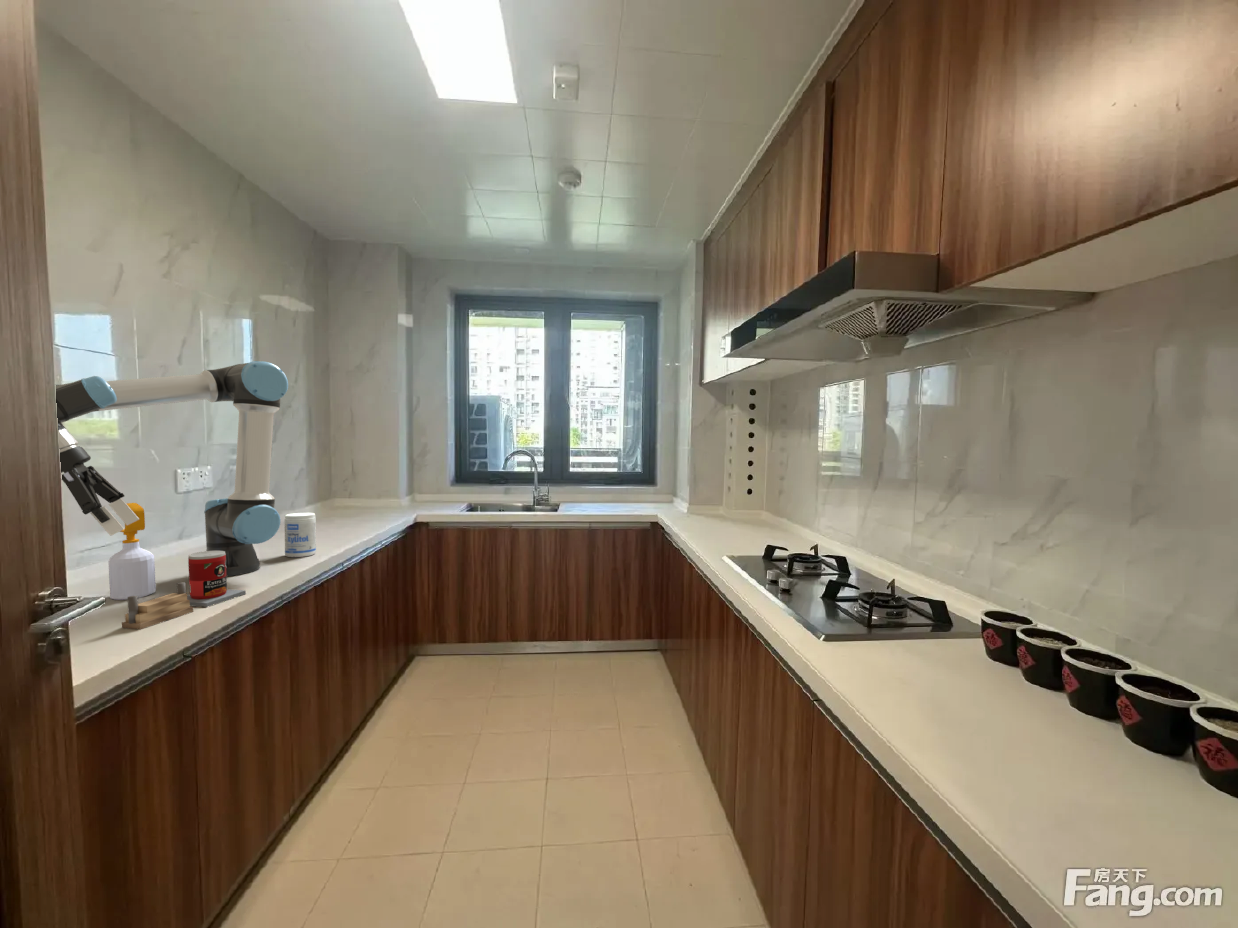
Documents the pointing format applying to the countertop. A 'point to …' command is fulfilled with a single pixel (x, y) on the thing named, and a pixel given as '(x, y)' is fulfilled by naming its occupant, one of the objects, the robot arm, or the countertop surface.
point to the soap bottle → (132, 563)
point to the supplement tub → (300, 534)
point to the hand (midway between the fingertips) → (126, 527)
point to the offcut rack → (157, 609)
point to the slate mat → (216, 598)
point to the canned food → (207, 574)
